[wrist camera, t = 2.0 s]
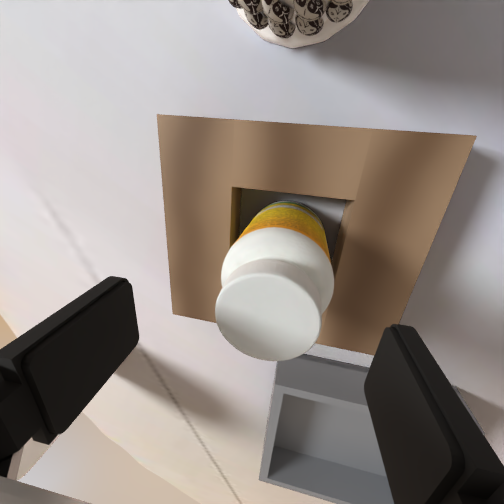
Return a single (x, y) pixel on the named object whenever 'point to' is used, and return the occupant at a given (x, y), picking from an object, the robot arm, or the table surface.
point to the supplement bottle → (276, 284)
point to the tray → (324, 433)
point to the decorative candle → (298, 19)
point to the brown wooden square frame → (315, 184)
